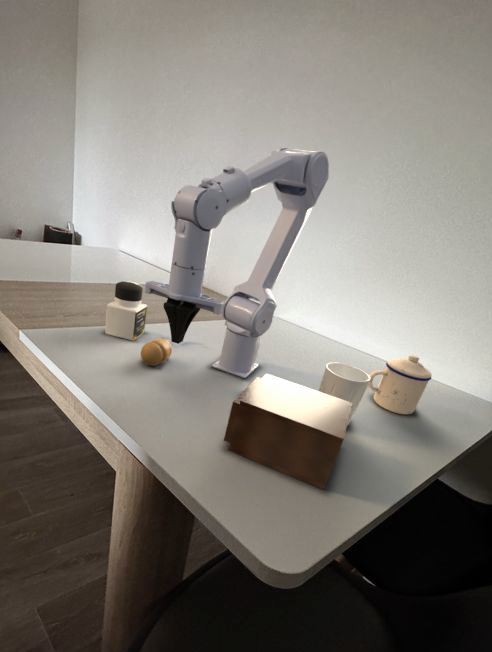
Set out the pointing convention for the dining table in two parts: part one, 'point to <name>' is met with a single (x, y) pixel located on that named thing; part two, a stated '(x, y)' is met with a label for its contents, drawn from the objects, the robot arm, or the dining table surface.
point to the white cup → (345, 383)
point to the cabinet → (291, 429)
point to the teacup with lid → (401, 384)
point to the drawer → (236, 411)
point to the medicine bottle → (126, 312)
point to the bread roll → (156, 351)
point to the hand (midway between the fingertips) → (177, 341)
